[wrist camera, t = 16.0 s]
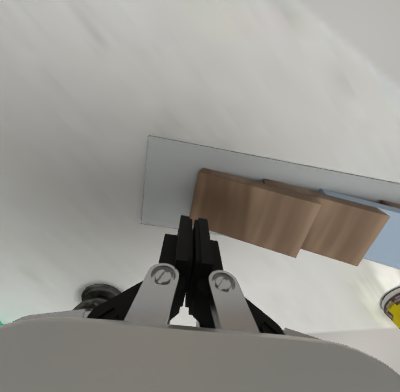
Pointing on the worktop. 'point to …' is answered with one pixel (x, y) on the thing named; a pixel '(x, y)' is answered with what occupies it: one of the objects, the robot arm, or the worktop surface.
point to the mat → (241, 167)
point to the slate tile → (381, 233)
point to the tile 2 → (340, 226)
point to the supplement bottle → (392, 306)
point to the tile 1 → (253, 211)
